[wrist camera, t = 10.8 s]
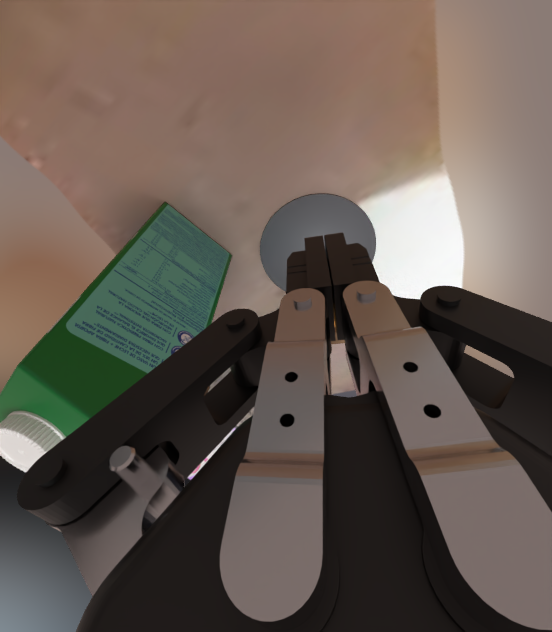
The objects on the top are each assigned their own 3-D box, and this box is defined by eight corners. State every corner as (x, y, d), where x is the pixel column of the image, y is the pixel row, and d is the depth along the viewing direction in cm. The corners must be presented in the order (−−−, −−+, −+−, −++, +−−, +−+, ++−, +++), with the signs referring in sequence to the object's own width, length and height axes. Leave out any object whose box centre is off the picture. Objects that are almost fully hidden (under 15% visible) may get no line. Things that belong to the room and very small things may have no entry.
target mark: (271, 303, 40) (271, 304, 40) (248, 204, 32) (248, 205, 32) (374, 291, 38) (374, 292, 38) (377, 183, 30) (377, 184, 30)
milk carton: (165, 200, 32) (-22, 407, 13) (233, 255, 36) (165, 478, 17) (126, 255, 37) (-57, 471, 17) (190, 299, 40) (97, 516, 21)
